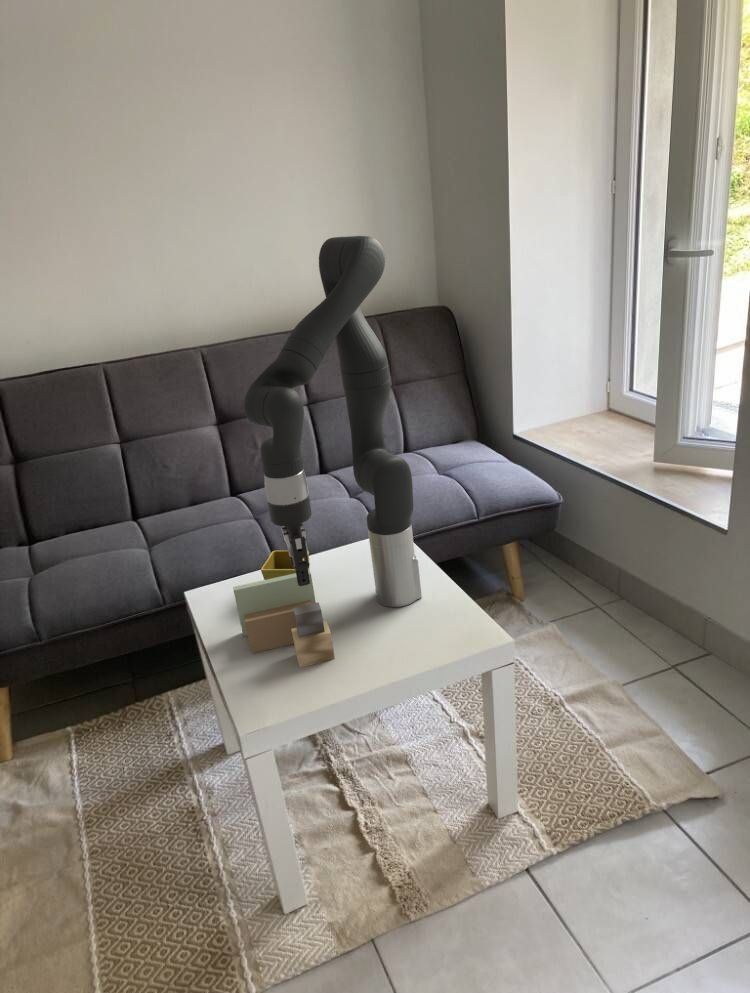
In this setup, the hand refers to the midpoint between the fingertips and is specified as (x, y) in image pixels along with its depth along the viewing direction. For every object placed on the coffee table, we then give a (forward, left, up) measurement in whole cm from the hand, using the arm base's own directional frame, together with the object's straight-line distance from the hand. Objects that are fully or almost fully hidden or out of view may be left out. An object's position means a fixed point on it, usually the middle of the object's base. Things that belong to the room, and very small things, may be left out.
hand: (300, 574), depth 147 cm
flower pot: (+1, -26, -19) cm, 32 cm away
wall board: (+5, -10, -18) cm, 22 cm away
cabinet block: (0, 0, -19) cm, 19 cm away
